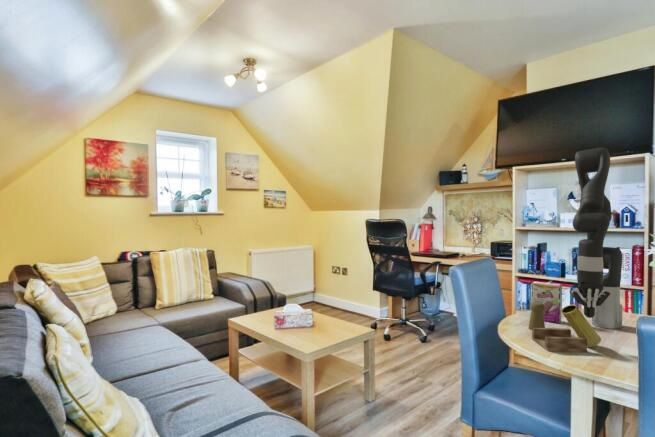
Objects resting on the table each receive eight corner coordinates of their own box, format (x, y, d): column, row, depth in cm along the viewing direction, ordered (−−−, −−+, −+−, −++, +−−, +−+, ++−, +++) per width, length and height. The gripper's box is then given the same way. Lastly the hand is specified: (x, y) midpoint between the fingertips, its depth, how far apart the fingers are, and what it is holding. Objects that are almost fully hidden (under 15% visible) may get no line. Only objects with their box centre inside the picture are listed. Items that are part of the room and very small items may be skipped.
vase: (605, 341, 126) (581, 307, 126) (588, 349, 127) (564, 316, 128) (595, 333, 132) (572, 301, 132) (579, 342, 133) (557, 310, 134)
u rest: (568, 340, 136) (568, 328, 136) (586, 352, 125) (587, 339, 125) (532, 339, 137) (532, 327, 137) (547, 350, 126) (547, 338, 126)
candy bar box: (530, 319, 162) (531, 282, 162) (533, 316, 166) (533, 281, 166) (559, 324, 155) (560, 286, 155) (561, 321, 159) (562, 284, 159)
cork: (544, 328, 150) (544, 301, 150) (546, 332, 145) (546, 305, 144) (527, 326, 153) (528, 300, 152) (529, 330, 147) (529, 303, 147)
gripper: (602, 267, 132) (601, 314, 133) (564, 267, 133) (563, 313, 134) (617, 270, 125) (616, 320, 125) (576, 270, 126) (576, 319, 126)
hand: (589, 317), depth 129 cm, fingers closed
